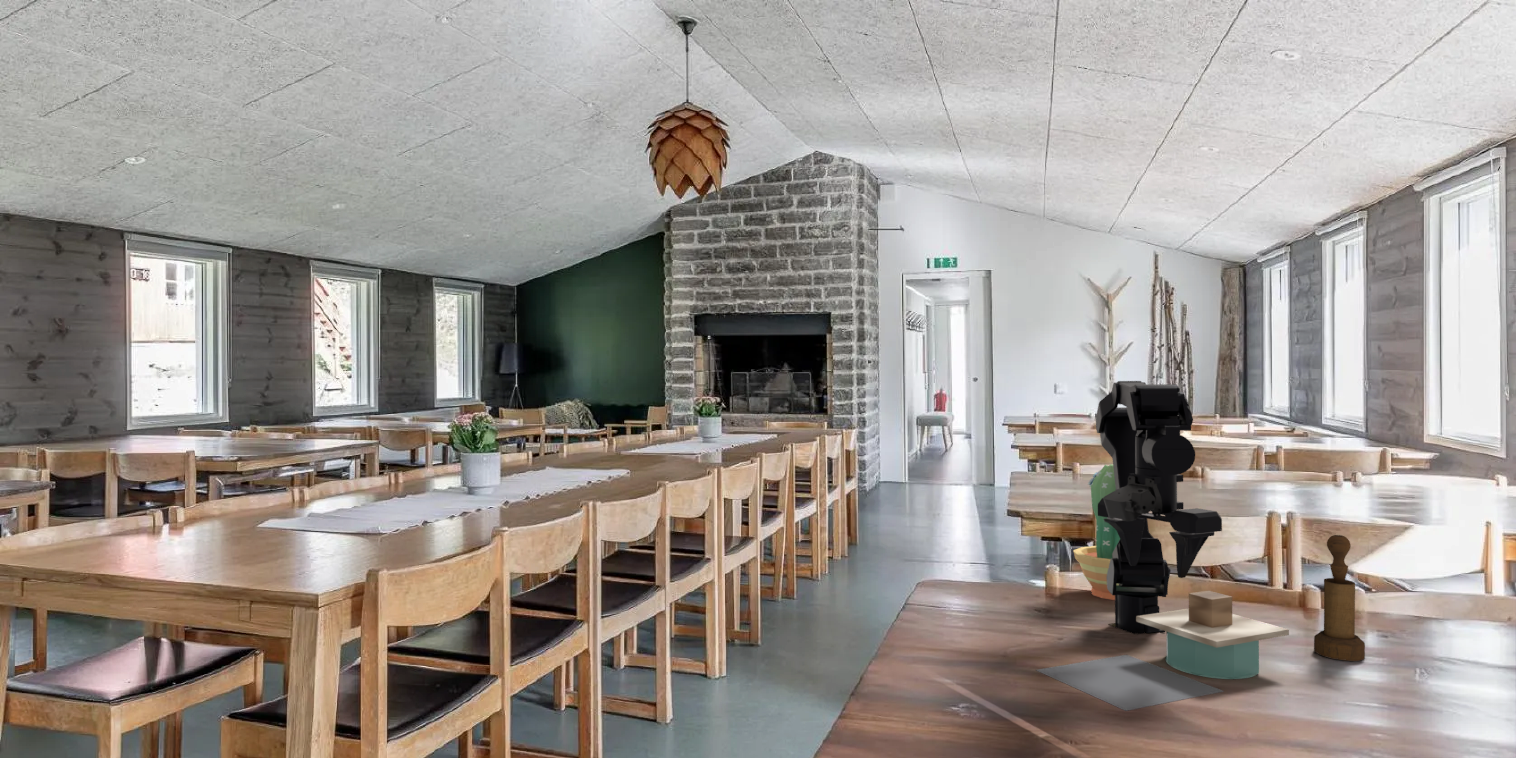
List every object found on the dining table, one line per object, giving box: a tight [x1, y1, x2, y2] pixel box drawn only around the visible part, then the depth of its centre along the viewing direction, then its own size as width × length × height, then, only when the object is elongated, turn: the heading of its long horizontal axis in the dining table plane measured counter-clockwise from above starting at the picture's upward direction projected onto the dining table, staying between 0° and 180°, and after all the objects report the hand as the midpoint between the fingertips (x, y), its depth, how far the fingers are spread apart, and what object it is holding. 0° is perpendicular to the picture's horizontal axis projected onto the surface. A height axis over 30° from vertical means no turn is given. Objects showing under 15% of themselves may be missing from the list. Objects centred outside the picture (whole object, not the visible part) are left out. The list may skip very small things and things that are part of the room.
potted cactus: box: [1073, 463, 1120, 601], centre depth 174 cm, size 15×15×25 cm
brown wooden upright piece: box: [1313, 534, 1366, 662], centre depth 136 cm, size 7×6×18 cm
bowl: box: [1165, 631, 1260, 680], centre depth 130 cm, size 12×12×6 cm
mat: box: [1035, 654, 1225, 712], centre depth 124 cm, size 17×17×1 cm
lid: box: [1136, 590, 1290, 648], centre depth 130 cm, size 14×14×5 cm
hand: (1156, 571), depth 135 cm, fingers open, 9 cm apart
